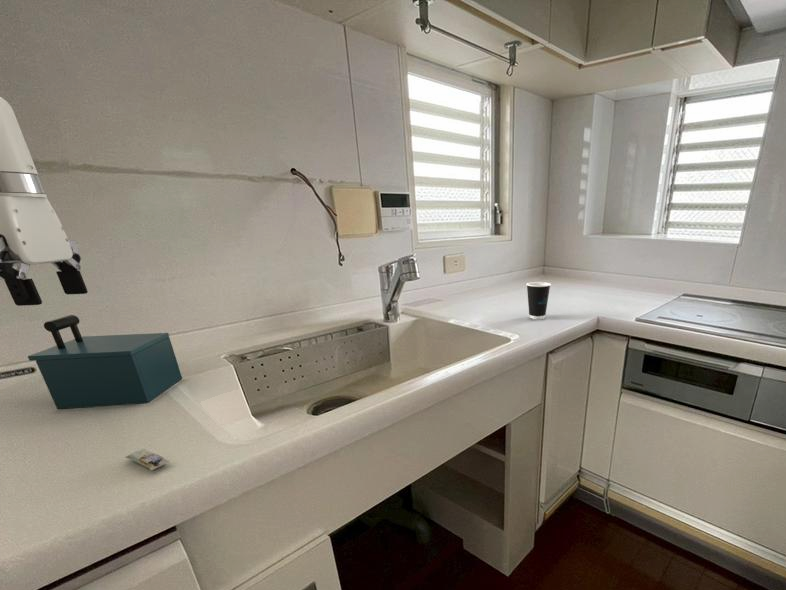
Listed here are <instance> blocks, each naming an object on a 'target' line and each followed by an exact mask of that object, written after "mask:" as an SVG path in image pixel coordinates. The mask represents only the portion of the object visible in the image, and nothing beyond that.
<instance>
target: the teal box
mask: <svg viewBox="0 0 786 590" xmlns="http://www.w3.org/2000/svg"><path fill="white" fill-rule="evenodd" d="M35 363H36V365H37V367H38V369H39V372H40V374H41V377H42V378H43V381H44V383H45V385H46V387H47V390H48V392H49V394H50V397H51V399H52V402H53V403H54V405H55V408H56V409H57V410H65V409H67V410H68V409H78V408H79V409H80V408H94V407H108V406H110V407H111V406H122V405H123V406H124V405H136V404H137V405H138V404H148V403H150V402H152V401H153V400H154V399H156V398H157V397H159V396H160V395H161V394H162V393H164V392H165V391H167V390H169V389H170V388H171V387H172V386H174V385H175V384H177V383H179V382H180V381H182V379H183V376H182V373H181V369H180V367H179V363H178V360H177V357H176V354H175V351H174V347H173V343H172V341H171V338H170V336H169V337H168V338H166V339H164V340H162V341H160V342H157V343H155V344H153V345H151V346H149V347H147V348H145V349H143V350H141V351H139V352H137V353H135V354H133V355H131V356H111V357H92V358H73V359H54V360H35Z"/></svg>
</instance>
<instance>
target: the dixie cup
mask: <svg viewBox="0 0 786 590" xmlns="http://www.w3.org/2000/svg"><path fill="white" fill-rule="evenodd" d="M525 284H526V290H527V292H526V293H527V303H528V314H529V318H530V319H532V320H544V319H545V316H546V314H547V308H548V302H549V294H550V289H551V286H552V283H550V282H545V281H532V282H531V281H529V282H526V283H525Z"/></svg>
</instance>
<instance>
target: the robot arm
mask: <svg viewBox="0 0 786 590" xmlns="http://www.w3.org/2000/svg"><path fill="white" fill-rule="evenodd" d="M30 152H31V151H30V150H29V147H28V145H27V142H26V140H25V137H24V134H23V132H22V129H21V127H20V124H19V122H18V119H17V117H16V114H15V112H14V109H13V108H12V106H11V104H10V103H9V102H8V101H7V100H5V99H4V98H3V97H1V96H0V281H4V283H5V285H6V287H7V290H8V291H9V294H10V296H11V299H12V300H13V302H14V304H15V306H18V307H23V306H24V307H25V306H40V305H42V304H43V301H42V298H41V295H40V294H39V290H38V289H37V287H36V284H35V282H34V280H33V278H28V275H29V272H30V267H31V266H35V265H36V266H37V265H44V264H51V265H53V266H54V267H55V268H56V269H58V271H56V272H55V273H56V275H57V278H58V281H59V283H60V285H61V287H62V290H63V293H64V294H65V295H85V294H88V289H87V286H86V284H85V280H84V278H83V276H82V273H81V270H82V266H81V264H80V263H81V260H82V258H81V256H80V245H79V244H78V243H77V242H75V241H74V240H71V239H69V237H68V235H67V234H66V231H65V228H64V227H63V225H62V223H61V220H60V219H59V217H58V214H57V213H56V211H55V209H54V207H53V206H52V204H51V203H50V200H49V199H48V196H47V193H46V191H45V188H44V186H43V183H42V180H41V178H40V175H39V173H38V170H37V168H36V166H35V163H34V160H33V157H32V155H31V153H30Z"/></svg>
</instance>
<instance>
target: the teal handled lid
mask: <svg viewBox="0 0 786 590" xmlns="http://www.w3.org/2000/svg"><path fill="white" fill-rule="evenodd" d="M80 321H81V320H80V318H79V317H78V316H76V315H75V314H69V315H66V316H65V315H64V316H62V317H59V318H55V319H51V320H48V321H45V322H44V323H43V328H44V329H45V330H46V331H47V332H49V333H51V335H52V338H53V339H54V340H53V341H54V343H55V345H54V346H52V347H49V348H46V349H43V350H41V351H38V352H35V353H32V354H30V355H27V359H28V360H29V361H30V362H31V361H32V362H33V361H37V360H54V359H73V358H92V357H111V356H131V355H133V354H135V353H137V352H139V351H141V350H143V349H145V348H147V347H149V346H151V345H153V344H155V343H157V342H160V341H162V340H164V339H166V338H168V337H170V335H169V332H156V333H152V332H151V333H134V334H133V333H132V334H111V335H108V334H107V335H87V336H86V335H85V336H82V334H81V331H80V329H79V327H78V325H79V324H80ZM67 328H69V329H70V331H71V333H72V335H73V338H74V339H71V340H68V341H66V342H64V340H63V337H62V335H61V332H60V331H61V330H65V329H67Z"/></svg>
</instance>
